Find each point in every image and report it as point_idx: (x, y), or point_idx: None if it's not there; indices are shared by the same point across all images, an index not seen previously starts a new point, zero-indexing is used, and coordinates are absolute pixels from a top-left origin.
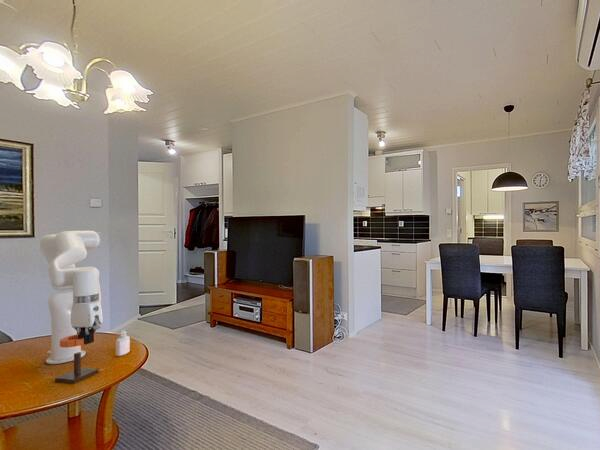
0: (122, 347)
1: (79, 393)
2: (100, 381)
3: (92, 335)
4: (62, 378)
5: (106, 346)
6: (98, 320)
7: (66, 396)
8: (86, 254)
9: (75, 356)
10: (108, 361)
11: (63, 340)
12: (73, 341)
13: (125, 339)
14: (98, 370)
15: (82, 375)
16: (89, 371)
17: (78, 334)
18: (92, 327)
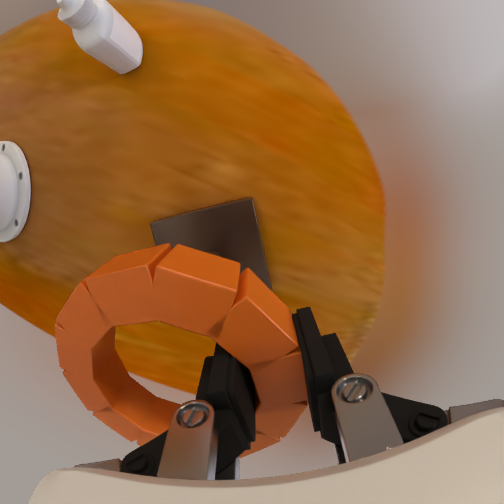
0: (127, 42)
1: (374, 316)
2: (355, 243)
3: (350, 373)
4: None
5: (11, 78)
6: (486, 495)
7: (354, 339)
8: None
9: None
10: (151, 113)
11: None
12: (273, 440)
13: (111, 14)
14: (251, 197)
15: (260, 264)
16: (240, 229)
17: (76, 347)
18: (365, 453)
